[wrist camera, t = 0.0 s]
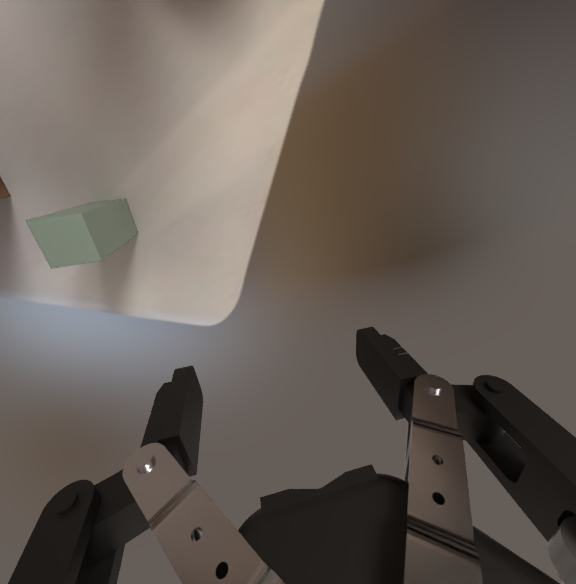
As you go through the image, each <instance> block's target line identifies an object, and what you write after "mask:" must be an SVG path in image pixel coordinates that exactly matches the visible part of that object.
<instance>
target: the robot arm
mask: <svg viewBox="0 0 576 584" xmlns="http://www.w3.org/2000/svg"><path fill="white" fill-rule="evenodd" d="M356 357H357V361H358V364H359V366H360V367H361V369H362V370H363V372H364V373H365V375H366V376H367V378H368V379H369V380H370V382H371V384H372V385H373V387H374V388H375V390H376V391H377V393H378V394H379V396H380V397H381V399H382V400H383V402H384V403H385V405H386V406H387V407H388V409H389V410H390V412H391V413H392V415H393V416H394V418H395V419H396V420H398V419H402V418H406V420H407V421H408V430H407V444H406V456H405V468H404V478H403V480H402V479H399V478H397V477H394V476H390V475H386V474H376V472H375V470H374V468H373V466H372V465H368V466H364V467H361V468H358V469H354V470H351V471H348V472H345V473H344V474H342V475H341V476H339V477H338V478H336V479H335V480H333V481H331V482H330V483H328V484H327V485H325V486H324V487H322V488H320V489H287V490H284V491H281V492H277V493H274V494H271V495H267V496H264V497H261V498H260V501H261V508H260V509H259V510H257V511H256V512H255V513H254V514H252V515H251V516H250V517H249V518H248V519H247V520H246V521H245V522H244V523H243V525H242V526H241V527H240V528H239V530H237V529H236V528H235V527H234V525H233V524H232V523H231V522H230V521H229V519H228V518H227V517H226V516H225V515H224V513H223V512H222V511H221V510H220V509H219V507H218V506H217V505H216V504H215V502H214V501H213V500H212V499H211V498H210V496H209V495H208V494H207V493H206V492H205V491H204V489H203V488H202V487H201V486H200V484H199V483H198V482H197V481H195V480H194V481H193V480H191V478H190V477H189V476H193V475H196V473H197V463H198V452H199V441H200V430H201V419H202V407H203V395H202V390H201V387H200V384H199V381H198V378H197V376H196V372H195V369H194V367H193V366H187V367H183V368H178V369H175V370H174V374H173V378H172V382H168V383H164V384H163V386H162V387H161V388H160V390H159V391H158V392H157V394H156V397H155V400H154V405H153V408H152V411H151V415H150V418H149V421H148V424H147V427H146V431H145V434H144V438H143V441H142V444H141V447H140V449H138V450H137V451H136V452H134V453H133V454H132V455H131V457H130V458H129V459H128V460H127V462H126V464H125V466H124V469H122V470H121V471H119V472H118V473H116V474H114V475H113V476H111V477H109V478H107V479H105V480H103V481H102V482H100V483H98V484H96V485H93V483H92V482H91V481H88V480H79V481H76V482H74V483H71V484H70V485H67V486H66V487H64V488H63V489H62V490H60V491H59V492H58V493H57V494H56V495H55V496H54V497H53V498H52V499H51V500H50V501H49V502H48V504H47V505H46V506H45V508H44V509H43V511H42V513H41V515H40V518H39V520H38V522H37V524H36V526H35V528H34V530H33V532H32V534H31V536H30V539H29V541H28V543H27V545H26V547H25V549H24V551H23V553H22V555H21V557H20V559H19V562H18V564H17V566H16V568H15V570H14V572H13V574H12V577H11V578H10V581H9V583H8V584H117V579H118V575H119V570H120V566H121V561H122V556H123V551H124V546H125V544H126V543H127V542H129V541H130V540H132V539H133V538H135V537H136V536H138V535H139V534H141V533H142V532H144V531H145V530H147V529H149V528H151V530H152V532H153V533H154V535H155V537H156V538H157V540H158V542H159V544H160V545H161V547H162V549H163V551H164V553H165V554H166V556H167V558H168V560H169V561H170V563H171V565H172V567H173V568H174V570H175V572H176V574H177V575H178V577H179V579H180V580H181V582H182V584H559V583H558V582H557V581H555V580H554V579H553V578H551V577H550V576H548V575H546V574H545V573H543V572H542V571H540V570H539V569H537V568H536V567H534V566H533V565H531V564H530V563H528V562H527V561H525V560H524V559H522V558H521V557H519V556H518V555H516V554H515V553H513V552H512V551H510V550H509V549H507V548H506V547H504V546H503V545H501V544H500V543H498V542H497V541H495V540H494V539H492V538H490V537H489V536H488V535H486V534H485V533H483V532H482V531H480V530H479V529H477V528H476V527H474V526H473V524H472V516H471V506H470V497H469V488H468V479H467V470H466V462H465V452H464V443H463V440H466V441H467V442H468V443H469V444H470V446H471V447H472V448H473V450H474V451H475V452H476V453H477V454H478V456H479V457H480V458H481V459H482V461H483V462H484V463H485V464H486V466H487V467H488V468H489V469H490V471H491V472H492V473H493V474H494V475H495V477H496V478H497V479H498V480H499V482H500V483H501V484H502V485H503V487H504V488H505V489H506V491H507V492H508V493H509V494H510V495H511V497H512V498H513V499H514V500H515V502H516V503H517V504H518V505H519V507H520V508H521V509H522V510H523V512H524V513H525V514H526V515H527V516H528V518H529V519H530V520H531V522H532V523H533V524H534V525H535V526H536V528H537V529H538V530H539V531H540V533H541V534H542V535H543V536H544V538H545V539H546V540H547V541H548V554H549V557H550V559H551V562H552V564H553V566H554V567H555V569H556V570H557V574H558V577H559V579H560V580H561V582H562V583H563V584H576V438H575V437H574V436H573V435H572V434H571V433H569V432H568V431H567V430H566V429H565V428H563V427H562V426H561V425H560V424H558V423H557V422H556V421H555V420H554V419H552V418H551V417H550V416H549V415H548V414H546V413H545V412H544V411H543V410H542V409H540V408H539V407H538V406H537V405H535V404H534V403H533V402H532V401H531V400H529V399H528V398H527V397H526V396H524V395H523V394H522V393H521V392H520V391H518V390H517V389H516V388H515V387H514V386H512V385H511V384H510V383H508V382H507V381H505V380H503V379H501V378H498V377H495V376H490V375H481V376H478V377H476V378H475V380H474V382H473V385H451V384H450V383H449V382H448V381H447V380H445V379H444V378H442V377H440V376H437V375H433V374H428V373H427V372H426V371H425V370H424V369H423V368H422V367H421V366H420V365H419V364H418V363H417V362H416V361H415V360H414V359H413V358H412V357H411V356H410V355H409V354H407V352H406V351H405V350H404V349H403V348H401V346H400V345H399V344H398V343H397V342H396V340H394V339H393V338H391V337H389V336H387V335H385V334H384V335H380V334H379V333H378V332H377V331H376V329H375V328H374V327H368V328H363V329H359V330H357V333H356ZM511 438H512V439H513V440H514V441H515V442H516V443H517V444H518V445H519V446H520V447H521V448H522V449H521V448H520V447H519V446H518V445H517V444H516V443H515V442H514V441H513V440H512V439H511Z"/></svg>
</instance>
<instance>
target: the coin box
mask: <svg viewBox="0 0 576 584" xmlns="http://www.w3.org/2000/svg"><path fill="white" fill-rule="evenodd" d="M9 196H10V194H9V192H8V190H7V189H6V187H5V185H4V183H3V181H2V179H1V177H0V198H2V197H9Z"/></svg>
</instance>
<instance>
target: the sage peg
mask: <svg viewBox="0 0 576 584" xmlns="http://www.w3.org/2000/svg"><path fill="white" fill-rule="evenodd" d="M26 223H27V224H28V226H29V228H30V230H31V232H32V234H33V236H34V238H35V240H36V241H37V243H38V245H39V247H40V249H41V251H42V253H43V255H44V256H45V258H46V260H47V262H48V264H49V266H50V268H58V267H64V266H71V265H77V264H84V263H90V262H97V261H102V260H103V259H105V258H106V257H107V256H109V255H110V254H111V253H113V252H114V251H115V250H116V249H118V248H119V247H120V246H122V245H123V244H124V243H125V242H127V241H128V240H129V239H131V238H132V237H133V236H135V235H136V234H137V233H138V231H137V228H136V225H135V223H134V220H133V217H132V214H131V211H130V209H129V206H128V203H127V200H126V199H120V200H111V201H103V202H95V203H88V204H84V205H81V206H77V207H73V208H70V209H66V210H63V211H59V212H55V213H52V214H48V215H44V216H41V217H37V218H34V219H30V220H26Z"/></svg>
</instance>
